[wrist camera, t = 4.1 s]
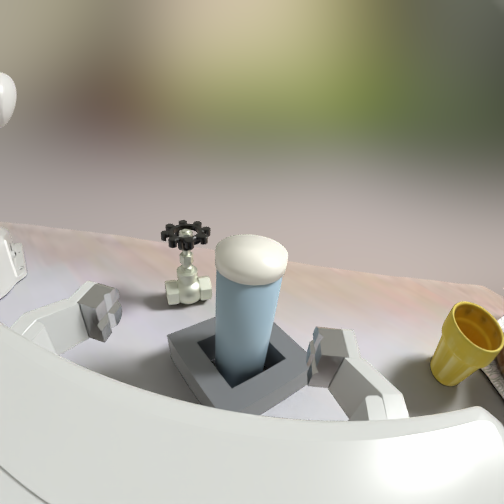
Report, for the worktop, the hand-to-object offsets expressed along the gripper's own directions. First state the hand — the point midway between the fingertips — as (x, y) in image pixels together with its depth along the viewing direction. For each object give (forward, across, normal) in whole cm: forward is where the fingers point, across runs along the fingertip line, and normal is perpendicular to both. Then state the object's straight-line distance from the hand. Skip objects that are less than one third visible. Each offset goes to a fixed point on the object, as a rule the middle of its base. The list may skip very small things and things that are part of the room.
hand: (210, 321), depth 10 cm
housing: (+13, -1, +19) cm, 23 cm away
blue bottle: (+13, -1, +19) cm, 23 cm away
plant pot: (+15, -32, +19) cm, 40 cm away
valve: (+25, +8, +19) cm, 32 cm away
